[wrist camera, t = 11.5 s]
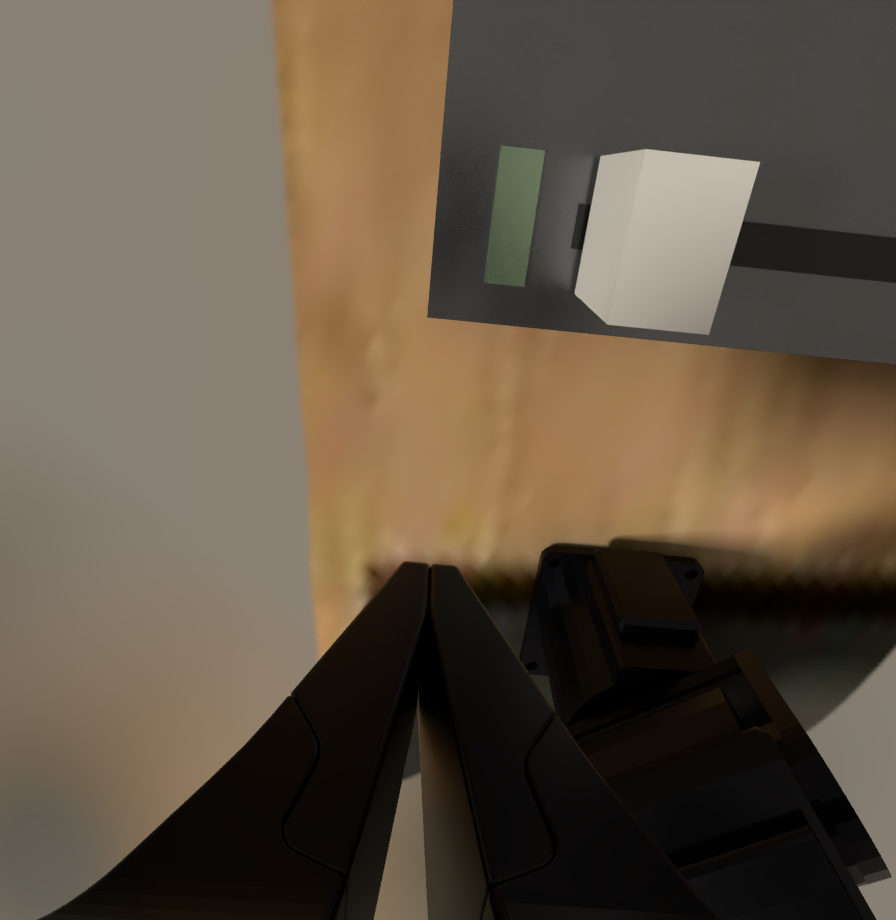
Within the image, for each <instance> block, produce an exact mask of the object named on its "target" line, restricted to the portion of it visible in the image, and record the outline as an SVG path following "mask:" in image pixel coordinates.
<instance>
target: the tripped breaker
mask: <svg viewBox="0 0 896 920" xmlns="http://www.w3.org/2000/svg"><path fill="white" fill-rule="evenodd" d="M759 165H760V162H756V161H747V160H738V159H729V158H720V157H712V156H703V155H694V154H685V153H676V152H667V151H659V150H650V149H643V150H636V151H630V152H623V153H617V154H610V155H604V156H600V162H599V167H598V172H597V177H596V183H595V188H594V193H593V198H592V204H591V209H590V214H589V219H588V225H587V230H586V235H585V241H584V246H583V251H582V256H581V262H580V267H579V272H578V277H577V283H576V288H575V293H574V294H575V295H576V296H577V297H578V298H579V299H581V300H582V301H583V302H584V303H585V304H586V305H587V306H588V307H589V308H590V309H591V310H592V311H593V312H594V313H595V314H597V315H598V316H599V317H600V318H601V319H602V320H603V321H604V322H605V323H606V324H607V325H616V326H626V327H635V328H645V329H655V330H665V331H675V332H685V333H695V334H704V335H709V333H710V329H711V326H712V322H713V319H714V316H715V312H716V309H717V306H718V302H719V299H720V296H721V292H722V289H723V286H724V282H725V279H726V275H727V272H728V269H729V265H730V262H731V259H732V255H733V252H734V249H735V245H736V242H737V239H738V235H739V232H740V229H741V225H742V222H743V218H744V215H745V212H746V208H747V205H748V202H749V198H750V195H751V192H752V188H753V185H754V182H755V178H756V175H757V172H758V168H759Z"/></svg>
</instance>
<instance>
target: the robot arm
mask: <svg viewBox="0 0 896 920" xmlns="http://www.w3.org/2000/svg"><path fill="white" fill-rule="evenodd" d="M552 557H557V558H558V560H556V561H555V562H550V561H549V559H551V558H552ZM689 569H693V571H692V572H690V573H686V571H688V570H689ZM703 575H704V570H703V568H702V566H701V565H700V563H699V562H698V561H697V560H696V559H693V558H686V557H674V556H663V555H661V554H659V553H647V552H636V551H624V550H613V549H598V550H593V549H582V548H570V547H559V546H551V547H548V548H546V549H544V550H543V551H542V553H541V555H540V560H539V565H538V570H537V575H536V579H535V584H534V589H533V594H532V599H531V604H530V609H529V614H528V619H527V624H526V628H525V633H524V638H523V643H522V648H521V653H520V658H518V656H517V655H516V653H515V652H514V650H513V649H512V647H511V646H510V644H509V643H508V642H507V640H506V639H505V637H504V636H503V634H502V633H501V631H500V630H499V628H498V627H497V625H496V624H495V622H494V621H493V619H492V618H491V616H490V615H489V613H488V612H487V610H486V609H485V607H484V606H483V605H482V603H481V602H480V600H479V599H478V597H477V596H476V594H475V593H474V591H473V590H472V588H471V587H470V585H469V584H468V582H467V581H466V579H465V578H464V576H463V575H462V573H461V572H460V570H459V569H458V568H457V567H456V566H453V565H442V564H433V565H431V567H429V565H428V564H427V563H419V562H409V561H406V562H403V563H402V564H401V565H400V566H399V567H398V569H397V570H396V571H395V572H394V573H393V575H392V576H391V577H390V578H389V579H388V580H387V582H386V583H385V584H384V585H383V586H382V587H381V589H380V590H379V591H378V592H377V593H376V594H375V596H374V597H373V598H372V599H371V600H370V601H369V603H368V604H367V605H366V606H365V607H364V608H363V610H362V611H361V612H360V613H359V614H358V615H357V617H356V618H355V619H354V620H353V621H352V622H351V624H350V625H349V626H348V627H347V628H346V629H345V631H344V632H343V633H342V634H341V635H340V636H339V638H338V639H337V640H336V641H335V642H334V643H333V645H332V646H331V647H330V648H329V649H328V650H327V652H326V653H325V654H324V655H323V656H322V657H321V659H320V660H319V661H318V662H317V663H316V665H315V666H314V667H313V668H312V669H311V670H310V672H309V673H308V674H307V675H306V676H305V677H304V678H303V680H302V681H301V682H300V683H299V685H297V687H296V688H295V689H294V690H293V691H292V693H291V696H288V697H287V698H286V699H285V700H284V701H283V703H282V704H281V705H280V706H279V707H278V709H277V710H276V711H275V712H274V713H273V714H272V716H271V717H270V718H269V719H268V720H267V721H266V722H265V723H264V724H263V725H262V727H261V728H260V729H259V730H258V731H257V732H256V733H255V734H254V735H253V736H252V737H251V739H250V740H249V741H248V742H247V743H246V744H245V745H244V746H243V747H242V748H241V749H240V750H239V751H238V752H237V753H236V754H235V755H234V756H233V757H232V758H231V759H230V760H229V761H228V762H227V763H226V764H225V765H224V766H223V767H222V768H220V770H218V772H216V773H215V774H214V775H213V776H212V777H211V778H210V779H209V780H208V781H207V782H206V783H205V784H204V785H203V786H202V787H200V788H199V789H198V790H197V791H196V792H195V793H194V794H193V795H192V796H191V797H190V798H189V799H188V800H186V801H185V802H184V803H183V804H182V805H181V806H180V807H179V808H178V809H177V810H176V811H175V812H173V813H172V814H171V815H170V816H169V817H168V818H167V819H166V820H165V821H164V822H163V823H162V824H161V825H159V827H157V828H156V829H155V830H154V831H153V832H152V833H151V834H150V835H149V836H148V837H147V838H145V839H144V840H143V841H142V842H141V843H140V844H139V845H138V846H137V847H136V848H135V849H134V850H133V851H131V853H129V854H128V855H127V856H126V857H125V858H124V859H123V860H122V861H121V862H120V863H118V864H117V865H116V866H115V867H114V868H113V869H112V870H111V871H110V872H108V873H107V874H106V875H105V876H104V877H102V878H101V879H100V880H98V881H97V882H96V883H95V884H93V885H92V886H91V887H90V888H88V889H87V890H86V891H84V892H83V893H81V894H80V895H78V896H77V897H76V898H74V899H73V900H71V901H70V902H68V903H67V904H65V905H63V906H62V907H60V908H58V909H57V910H55V911H53V912H52V913H50V914H48V915H46V916H44V917H42V918H40V919H38V920H374V915H375V910H376V905H377V901H378V896H379V891H380V886H381V881H382V876H383V871H384V867H385V862H386V857H387V852H388V847H389V842H390V837H391V833H392V828H393V823H394V817H395V813H396V808H397V803H398V799H399V793H400V789H401V784H402V779H403V774H404V769H405V765H406V760H407V755H408V750H409V745H410V740H411V735H412V730H413V726H414V720H415V715H416V709H417V701H418V727H419V747H420V767H421V787H422V806H423V828H424V848H425V868H426V888H427V908H428V920H876V918H875V916H874V915H873V913H872V911H871V909H870V908H869V906H868V904H867V903H866V901H865V899H864V897H863V896H862V894H861V892H860V890H859V888H858V887H859V886H862V885H866V884H871V883H874V882H878V881H881V880H884V879H888V878H891V874H890V872H889V870H888V868H887V866H886V864H885V863H884V861H883V859H882V857H881V855H880V854H879V852H878V850H877V848H876V847H875V845H874V843H873V841H872V839H871V838H870V836H869V834H868V833H867V831H866V829H865V828H864V826H863V824H862V822H861V821H860V819H859V817H858V816H857V814H856V813H855V811H854V809H853V807H852V806H851V804H850V802H849V801H848V799H847V797H846V796H845V794H844V792H843V791H842V789H841V787H840V786H839V784H838V783H837V781H836V780H835V778H834V776H833V774H832V773H831V771H830V770H829V768H828V766H827V765H826V763H825V762H824V760H823V758H822V757H821V755H820V754H819V752H818V750H817V749H816V747H815V746H814V744H813V743H812V741H811V739H810V738H809V736H808V735H807V733H806V732H805V730H804V729H803V727H802V726H801V724H800V723H799V721H798V720H797V718H796V717H795V715H794V714H793V712H792V711H791V709H790V708H789V706H788V705H787V703H786V702H785V701H784V699H783V698H782V696H781V695H780V693H779V692H778V690H777V689H776V687H775V686H774V684H773V683H772V681H771V680H770V678H769V677H768V675H767V674H766V672H765V671H764V669H763V668H762V667H761V665H760V664H759V662H758V661H757V659H756V658H755V656H754V655H753V653H752V652H751V650H750V649H749V647H746V648H744V649H742V650H739V651H737V652H734V653H732V655H733V657H731V658H729V659H727V660H724V661H722V662H719V663H718V661H717V660H716V658H715V656H714V654H713V652H712V650H711V649H710V647H709V645H708V643H707V641H706V640H705V638H704V636H703V634H702V632H701V630H702V624H701V622H700V621H699V619H698V617H697V615H696V613H695V612H694V610H693V608H692V606H693V603H694V600H695V597H696V595H697V592H698V589H699V586H700V584H701V581H702V578H703ZM532 661H533V662H534V663H528V662H532ZM530 674H533V675H545V676H548V677H549V682H550V688H551V693H552V698H553V703H554V708H555V711H554V710H553V708H552V707H551V705H550V704H549V702H548V701H547V699H546V698H545V696H544V695H543V693H542V692H541V690H540V689H539V687H538V686H537V684H536V683H535V681H534V680H533V679H532V677H531V676H530ZM418 692H419V697H418Z"/></svg>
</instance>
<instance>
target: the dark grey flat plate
mask: <svg viewBox="0 0 896 920" xmlns="http://www.w3.org/2000/svg"><path fill="white" fill-rule="evenodd" d="M643 149H650V150H659V151H667V152H676V153H685V154H694V155H703V156H712V157H720V158H729V159H738V160H747V161H756V162H760V165H759V168H758V172H757V175H756V178H755V182H754V185H753V188H752V192H751V195H750V198H749V202H748V205H747V208H746V212H745V215H744V218H743V222H742V225H741V229H740V232H739V235H738V239H737V242H736V245H735V249H734V252H733V255H732V259H731V262H730V265H729V269H728V272H727V275H726V279H725V282H724V286H723V289H722V292H721V296H720V299H719V302H718V306H717V309H716V312H715V316H714V319H713V322H712V326H711V329H710V333H709V335H704V334H695V333H685V332H675V331H665V330H655V329H645V328H635V327H626V326H616V325H607V324H606V323H605V322H604V321H603V320H602V319H601V318H600V317H599V316H598V315H597V314H595V313H594V312H593V311H592V310H591V309H590V308H589V307H588V306H587V305H586V304H585V303H584V302H583V301H582V300H581V299H579V298H578V297H577V296H576V295H575V294H574V293H575V288H576V283H577V277H578V272H579V267H580V262H581V256H582V251H583V246H584V241H585V235H586V230H587V225H588V219H589V214H590V209H591V204H592V198H593V193H594V188H595V183H596V177H597V172H598V167H599V162H600V156H604V155H610V154H617V153H623V152H630V151H636V150H643ZM427 317H430V318H440V319H450V320H460V321H469V322H479V323H489V324H499V325H509V326H519V327H529V328H539V329H549V330H559V331H569V332H579V333H589V334H599V335H609V336H618V337H628V338H638V339H648V340H658V341H668V342H678V343H688V344H698V345H708V346H718V347H728V348H738V349H748V350H758V351H768V352H777V353H787V354H797V355H807V356H817V357H827V358H837V359H847V360H857V361H867V362H877V363H887V364H896V0H454V1H453V13H452V25H451V37H450V49H449V61H448V73H447V85H446V98H445V110H444V122H443V134H442V146H441V158H440V170H439V182H438V194H437V207H436V219H435V231H434V243H433V255H432V267H431V279H430V291H429V303H428V316H427Z"/></svg>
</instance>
